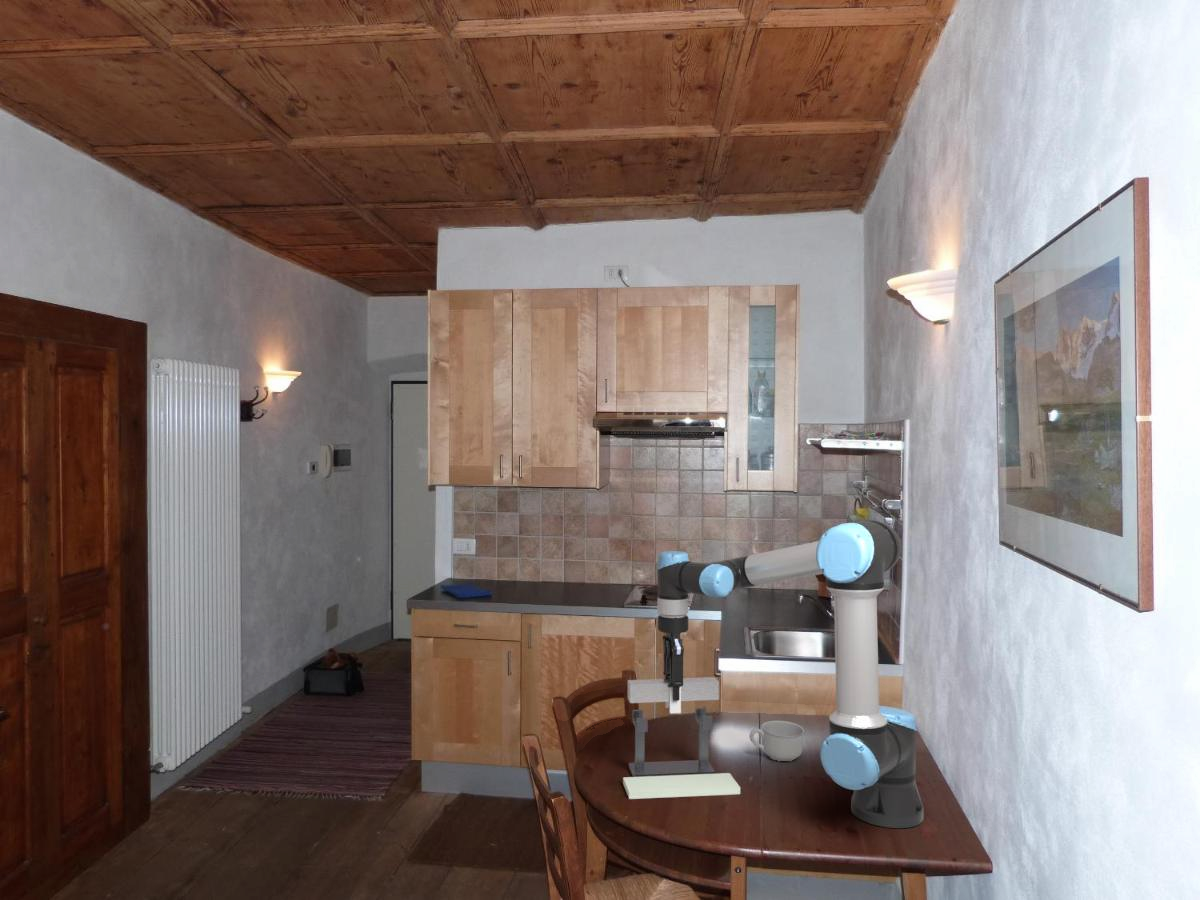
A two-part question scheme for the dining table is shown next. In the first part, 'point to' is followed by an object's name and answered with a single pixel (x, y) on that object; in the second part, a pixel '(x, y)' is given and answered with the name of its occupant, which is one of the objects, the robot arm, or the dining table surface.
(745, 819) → the dining table surface
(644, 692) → the rail bar
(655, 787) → the board
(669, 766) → the hook stand
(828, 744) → the robot arm
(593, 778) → the dining table surface
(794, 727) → the teacup
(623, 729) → the dining table surface
